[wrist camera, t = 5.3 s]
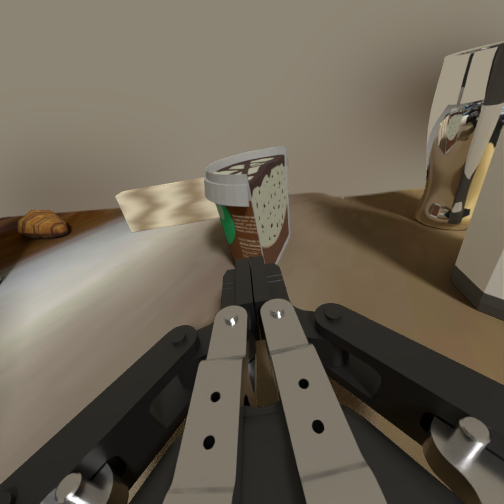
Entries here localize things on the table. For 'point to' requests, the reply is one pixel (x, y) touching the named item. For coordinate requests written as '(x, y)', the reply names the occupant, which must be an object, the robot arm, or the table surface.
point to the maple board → (166, 205)
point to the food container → (252, 202)
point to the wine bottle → (485, 243)
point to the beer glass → (462, 135)
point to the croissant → (42, 225)
